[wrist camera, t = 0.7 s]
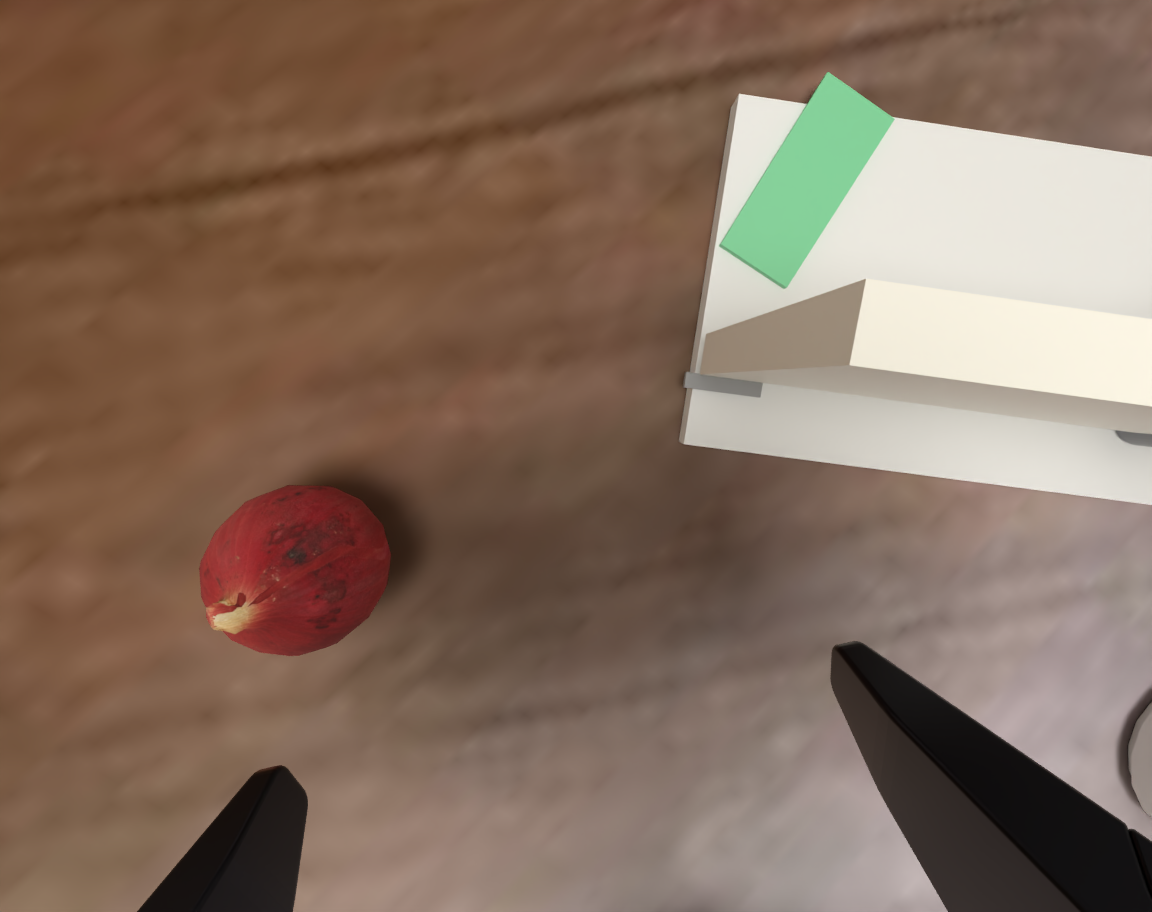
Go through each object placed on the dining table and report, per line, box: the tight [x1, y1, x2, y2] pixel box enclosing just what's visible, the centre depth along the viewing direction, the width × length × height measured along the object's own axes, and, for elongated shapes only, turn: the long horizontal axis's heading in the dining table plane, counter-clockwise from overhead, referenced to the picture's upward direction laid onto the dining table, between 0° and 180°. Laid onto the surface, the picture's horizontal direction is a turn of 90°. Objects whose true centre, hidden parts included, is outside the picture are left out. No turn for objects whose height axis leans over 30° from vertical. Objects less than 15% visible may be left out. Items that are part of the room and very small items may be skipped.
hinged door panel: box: [700, 279, 1152, 447], centre depth 14 cm, size 20×4×15 cm, turn 82°
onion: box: [199, 485, 391, 656], centre depth 19 cm, size 6×6×8 cm
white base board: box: [679, 72, 1152, 505], centre depth 22 cm, size 20×14×1 cm
